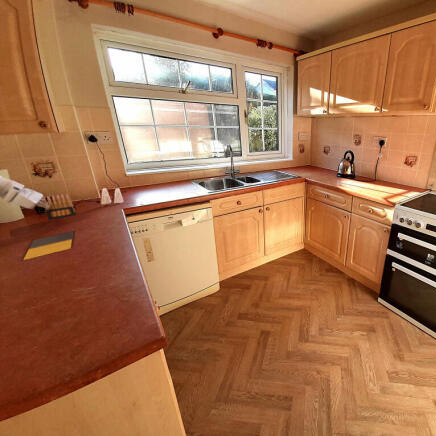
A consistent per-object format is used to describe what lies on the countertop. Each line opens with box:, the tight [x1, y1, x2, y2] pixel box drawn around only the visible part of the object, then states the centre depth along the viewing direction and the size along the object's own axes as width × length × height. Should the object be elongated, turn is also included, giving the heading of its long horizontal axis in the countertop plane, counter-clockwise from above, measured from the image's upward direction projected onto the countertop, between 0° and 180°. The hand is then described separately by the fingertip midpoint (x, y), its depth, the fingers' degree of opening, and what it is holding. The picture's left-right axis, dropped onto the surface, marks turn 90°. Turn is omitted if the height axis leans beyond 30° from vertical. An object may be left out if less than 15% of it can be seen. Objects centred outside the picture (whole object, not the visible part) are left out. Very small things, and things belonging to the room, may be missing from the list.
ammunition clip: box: [41, 193, 77, 221], centre depth 125 cm, size 11×2×12 cm, turn 127°
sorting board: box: [22, 231, 75, 261], centre depth 105 cm, size 14×22×1 cm, turn 37°
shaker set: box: [100, 187, 125, 206], centre depth 158 cm, size 12×4×11 cm, turn 128°
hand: (50, 206), depth 123 cm, fingers closed on ammunition clip, 2 cm apart
